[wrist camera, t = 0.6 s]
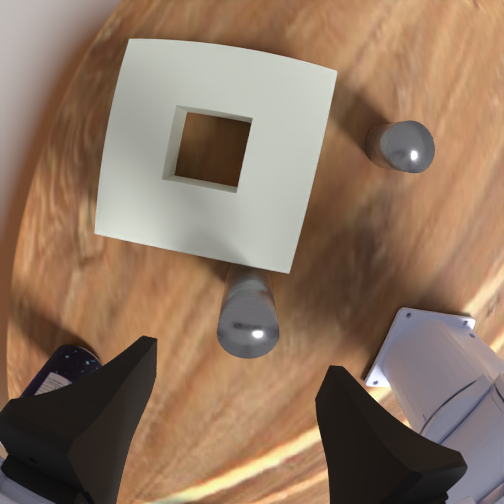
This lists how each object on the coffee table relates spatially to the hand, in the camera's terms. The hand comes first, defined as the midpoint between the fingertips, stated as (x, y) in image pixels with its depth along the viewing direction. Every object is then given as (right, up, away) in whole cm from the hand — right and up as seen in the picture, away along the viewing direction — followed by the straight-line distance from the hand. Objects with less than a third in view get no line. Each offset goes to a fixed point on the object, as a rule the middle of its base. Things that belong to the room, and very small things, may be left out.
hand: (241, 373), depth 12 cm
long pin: (0, +3, +9) cm, 10 cm away
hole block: (-2, +11, +7) cm, 13 cm away
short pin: (+9, +12, +6) cm, 17 cm away
